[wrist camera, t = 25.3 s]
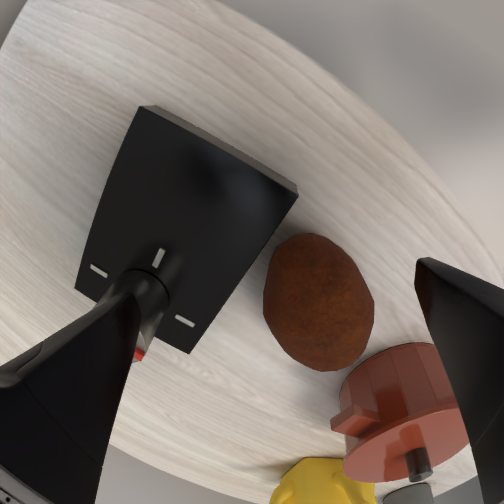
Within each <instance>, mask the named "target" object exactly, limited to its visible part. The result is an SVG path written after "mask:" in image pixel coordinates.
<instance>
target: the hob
mask: <svg viewBox="0 0 504 504" xmlns="http://www.w3.org/2000/svg"><path fill="white" fill-rule="evenodd" d="M298 197H299V194H298V190H297V186H296V184H294V183H293V182H291V181H289V180H288V179H286V178H285V177H283V176H281V175H280V174H278V173H277V172H275V171H273V170H272V169H270V168H268V167H267V166H265V165H263V164H262V163H260V162H258V161H257V160H255V159H253V158H252V157H250V156H248V155H247V154H245V153H243V152H241V151H240V150H238V149H236V148H234V147H233V146H231V145H229V144H227V143H226V142H224V141H222V140H220V139H219V138H217V137H215V136H213V135H211V134H210V133H208V132H206V131H204V130H202V129H200V128H199V127H197V126H195V125H193V124H191V123H189V122H187V121H185V120H184V119H182V118H180V117H178V116H176V115H174V114H172V113H170V112H168V111H166V110H164V109H162V108H160V107H158V106H156V105H155V106H139V108H138V110H137V112H136V114H135V116H134V119H133V121H132V123H131V125H130V127H129V129H128V132H127V134H126V136H125V138H124V141H123V143H122V145H121V148H120V150H119V152H118V155H117V157H116V160H115V162H114V165H113V167H112V170H111V172H110V175H109V177H108V180H107V183H106V185H105V188H104V191H103V193H102V196H101V199H100V202H99V205H98V208H97V211H96V214H95V217H94V220H93V223H92V226H91V229H90V232H89V236H88V239H87V242H86V246H85V249H84V253H83V256H82V260H81V264H80V267H79V271H78V275H77V279H76V283H75V287H74V288H75V289H76V290H78V291H79V292H81V293H82V294H84V295H85V296H87V297H88V298H90V299H92V300H93V301H95V302H96V303H97V302H98V301H99V300H100V299H101V297H102V296H103V295H104V294H105V292H106V291H107V290H108V289H109V288H110V286H111V285H112V284H113V283H114V281H115V280H116V279H117V278H118V277H119V276H120V275H121V274H122V273H124V272H126V271H130V270H139V271H143V272H146V273H148V274H150V275H152V276H153V277H155V278H156V279H157V280H158V281H159V282H160V283H161V284H162V285H163V287H164V288H165V290H166V292H167V295H168V300H169V305H168V309H167V311H166V313H165V315H164V317H163V319H162V321H161V323H160V325H159V327H158V329H157V331H156V333H155V336H154V337H156V338H158V339H160V340H162V341H164V342H166V343H167V344H169V345H171V346H173V347H175V348H177V349H179V350H181V351H183V352H185V353H187V354H190V353H191V351H192V350H193V348H194V347H195V346H196V344H197V343H198V341H199V340H200V338H201V337H202V336H203V334H204V333H205V331H206V330H207V328H208V327H209V325H210V324H211V323H212V321H213V320H214V318H215V317H216V315H217V314H218V313H219V311H220V310H221V308H222V307H223V305H224V304H225V303H226V301H227V300H228V298H229V297H230V295H231V294H232V292H233V291H234V290H235V288H236V287H237V285H238V284H239V282H240V281H241V279H242V278H243V277H244V275H245V274H246V272H247V271H248V269H249V268H250V266H251V265H252V264H253V262H254V261H255V259H256V258H257V256H258V255H259V253H260V252H261V251H262V249H263V248H264V246H265V245H266V243H267V242H268V240H269V239H270V237H271V236H272V235H273V233H274V232H275V230H276V229H277V227H278V226H279V224H280V223H281V221H282V220H283V219H284V217H285V216H286V214H287V213H288V211H289V210H290V208H291V207H292V205H293V204H294V203H295V201H296V200H297V198H298Z"/></svg>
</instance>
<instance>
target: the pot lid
mask: <svg viewBox="0 0 504 504" xmlns="http://www.w3.org/2000/svg"><path fill="white" fill-rule="evenodd" d="M468 443H469V439H468V435H467V432H466V429H465V425H464V422H463V419H462V416H461V413H460V410H459V407H458V404H457V403H455V404H447V405H442V406H438V407H434V408H430V409H427V410H424V411H421V412H418V413H415V414H412V415H410V416H407V417H404V418H402V419H400V420H397V421H395V422H393V423H391V424H389V425H387V426H384V427H382V428H381V429H379V430H377V431H375V432H373V433H372V434H370V435H368V436H367V437H365V438H364V439H362V440H361V441H359V442H358V443H357V444H356V445H354V446H353V447H352V448H351V449H350V450H349V451H348V452H347V454H346V455H345V457H344V459H343V461H342V469H343V473H344V474H345V475H346V476H347V477H348V478H350V479H352V480H355V481H359V482H367V483H378V482H388V481H394V480H399V479H403V478H407V477H409V481H410V482H418V481H421V480H424V479H426V478H428V477H429V476H431V475H432V474H433V470H432V468H433V467H435V466H437V465H439V464H441V463H443V462H444V461H446V460H448V459H449V458H451V457H452V456H454V455H455V454H457V453H458V452H459V451H460V450H462V449H463V448H464V447H465V446H466V445H467V444H468Z"/></svg>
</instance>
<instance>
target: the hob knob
mask: <svg viewBox="0 0 504 504" xmlns="http://www.w3.org/2000/svg"><path fill="white" fill-rule="evenodd" d="M122 292H132V293H133V294H134V295H135V298H136V300H137V302H138V305H139V307H140V309H141V312H142V322H141V326H140V331H139V335H138V340H137V344H136V349H135V353H134V357H133V361H132V363H134V362H137V361H142V359H143V357H144V356H145V354H146V352H147V350H148V348H149V346H150V344H151V342H152V340H153V338H154V336H155V333H156V331H157V329H158V327H159V325H160V323H161V321H162V319H163V317H164V315H165V313H166V311H167V309H168V305H169V300H168V295H167V292H166V290H165V288H164V287H163V285H162V284H161V283H160V282H159V281H158V280H157V279H156V278H155V277H153V276H152V275H150V274H148V273H146V272H143V271H139V270H130V271H126V272H124V273H122V274H121V275H120V276H119V277H118V278H117V279H116V280H115V281H114V283H113V284H112V285H111V286H110V288H109V289H108V290H107V291H106V292H105V294H104V295H103V296H102V297H101V299H100V300H99V301H98V302H97V304H96V305H95V306H94V308H93V309H95V308H96V307H98V306H100V305H101V304H103V303H105V302H106V301H108V300H110V299H111V298H113V297H114V296H116V295H118V294H119V293H122ZM93 309H92V310H93Z"/></svg>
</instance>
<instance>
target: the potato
mask: <svg viewBox="0 0 504 504" xmlns="http://www.w3.org/2000/svg"><path fill="white" fill-rule="evenodd" d="M263 315H264V318H265V320H266V322H267V324H268V326H269V328H270V330H271V332H272V334H273V335H274V337H275V338H276V340H277V341H278V343H279V344H280V345H281V347H282V348H283V350H284V351H285V352H286V353H287V354H288V355H290V356H291V357H292V358H293V359H294V360H296V361H298V362H300V363H301V364H303V365H305V366H307V367H309V368H311V369H314V370H317V371H321V372H325V371H337V370H339V369H342V368H344V367H347V366H349V365H351V364H352V363H353V362H354V361H356V360H357V359H358V358H359V357H360V356H361V355H362V353H363V352H364V350H365V349H366V346H367V343H368V340H369V337H370V334H371V330H372V327H373V324H374V300H373V298H372V296H371V293H370V291H369V289H368V287H367V285H366V283H365V281H364V279H363V277H362V275H361V273H360V271H359V269H358V268H357V266H356V264H355V263H354V261H353V260H352V258H351V257H350V256H349V255H348V254H347V253H346V252H345V251H344V250H343V249H342V248H340V247H339V246H338V245H336V244H335V243H333V242H332V241H331V240H329V239H328V238H326V237H323V236H319V235H316V234H312V233H308V234H300V235H294V236H292V237H291V238H289V239H288V240H286V241H285V242H283V243H281V244H280V245H278V246H277V247H276V249H275V252H274V254H273V256H272V259H271V261H270V264H269V269H268V274H267V278H266V283H265V288H264V292H263Z"/></svg>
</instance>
